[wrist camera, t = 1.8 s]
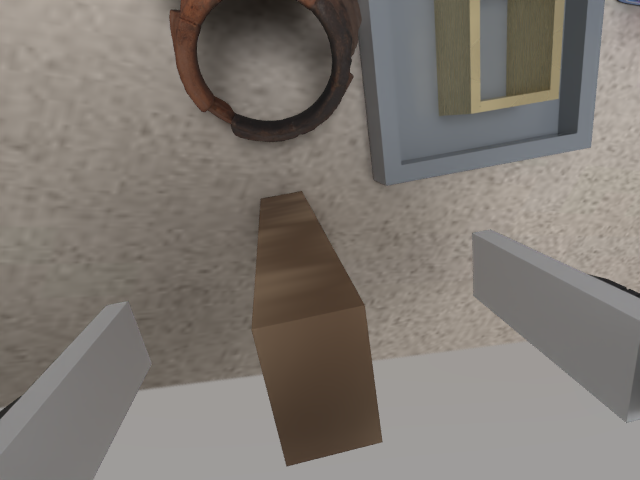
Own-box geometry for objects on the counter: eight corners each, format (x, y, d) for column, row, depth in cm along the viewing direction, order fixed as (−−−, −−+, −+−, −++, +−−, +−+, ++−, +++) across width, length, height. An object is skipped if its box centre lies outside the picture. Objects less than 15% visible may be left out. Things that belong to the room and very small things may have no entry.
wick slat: (274, 260, 23) (286, 466, 9) (260, 198, 22) (251, 329, 8) (312, 252, 24) (382, 442, 9) (301, 191, 22) (365, 305, 8)
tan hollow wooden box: (438, 115, 21) (471, 113, 18) (433, -11, 19) (469, -41, 16) (513, 103, 21) (558, 98, 18) (516, -23, 19) (567, -53, 16)
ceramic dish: (373, 179, 23) (386, 185, 20) (347, -67, 18) (359, -95, 16) (558, 145, 24) (590, 147, 21) (574, -94, 20) (616, -124, 17)
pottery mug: (377, -17, 20) (419, 36, 14) (286, 113, 25) (291, 188, 20) (158, -235, 14) (86, -285, 8) (99, -3, 19) (31, 60, 14)
